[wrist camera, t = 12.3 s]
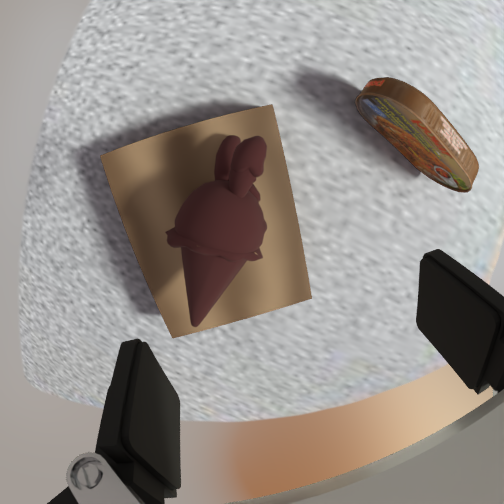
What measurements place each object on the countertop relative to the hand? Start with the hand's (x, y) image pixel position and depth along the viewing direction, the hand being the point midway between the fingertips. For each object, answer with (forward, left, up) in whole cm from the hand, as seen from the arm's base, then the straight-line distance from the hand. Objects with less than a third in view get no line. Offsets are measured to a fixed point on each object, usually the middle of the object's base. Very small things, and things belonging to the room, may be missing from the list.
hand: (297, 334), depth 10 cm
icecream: (+2, +1, -17) cm, 18 cm away
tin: (-19, -2, -21) cm, 29 cm away
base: (+2, +2, -21) cm, 21 cm away
